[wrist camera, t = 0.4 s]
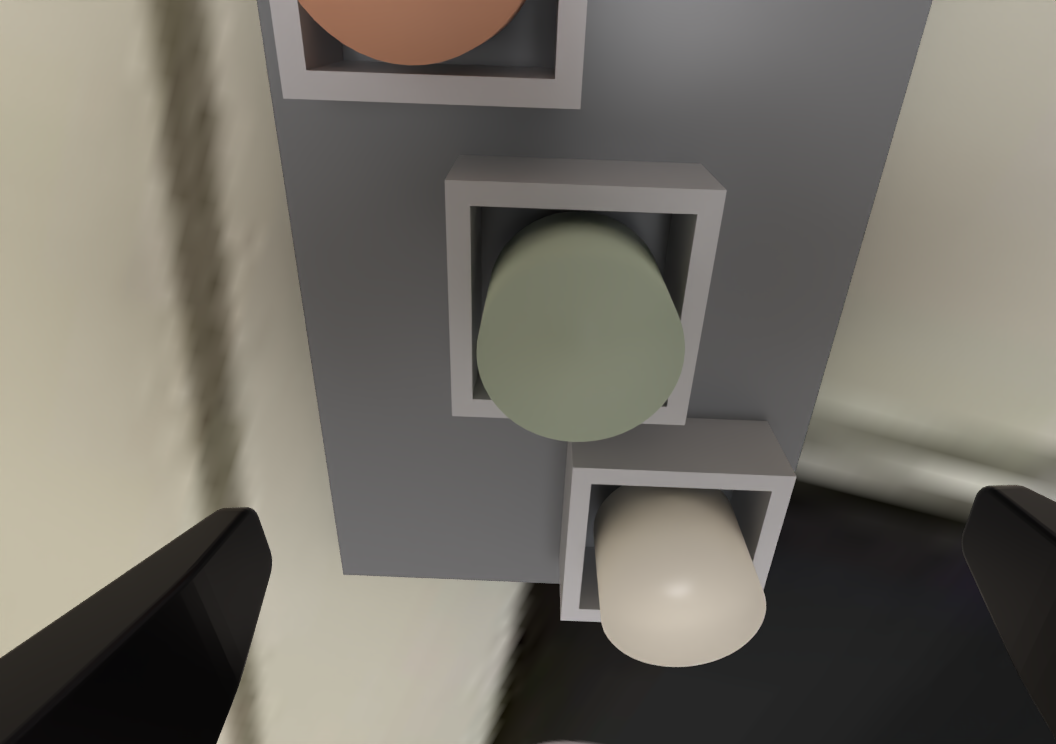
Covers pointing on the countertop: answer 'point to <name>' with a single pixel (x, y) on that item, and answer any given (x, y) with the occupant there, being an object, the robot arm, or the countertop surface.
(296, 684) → the countertop surface
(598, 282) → the sage button
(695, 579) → the cream button
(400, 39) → the terracotta button
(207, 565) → the robot arm
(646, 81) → the panel
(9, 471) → the countertop surface
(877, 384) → the countertop surface
